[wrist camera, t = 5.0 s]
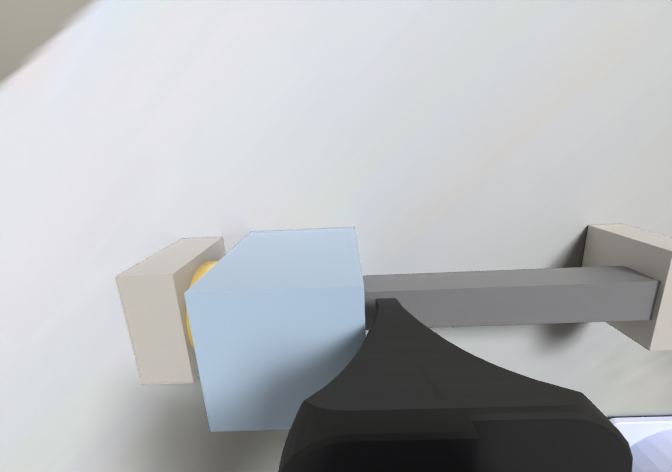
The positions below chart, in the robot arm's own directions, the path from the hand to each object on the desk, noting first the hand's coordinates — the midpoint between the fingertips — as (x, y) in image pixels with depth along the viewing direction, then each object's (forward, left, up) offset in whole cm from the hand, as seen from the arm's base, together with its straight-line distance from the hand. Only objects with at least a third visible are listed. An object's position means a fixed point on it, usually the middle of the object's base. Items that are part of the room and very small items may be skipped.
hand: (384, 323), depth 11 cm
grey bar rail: (0, -1, -5) cm, 5 cm away
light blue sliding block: (0, +3, -5) cm, 6 cm away
